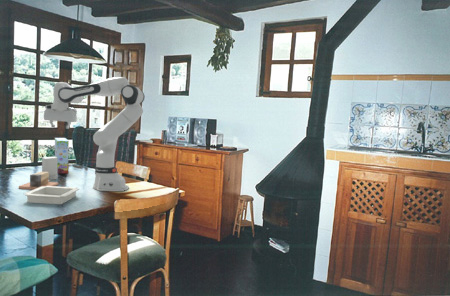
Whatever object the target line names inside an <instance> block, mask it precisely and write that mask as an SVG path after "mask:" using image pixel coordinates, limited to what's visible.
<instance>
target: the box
mask: <svg viewBox="0 0 450 296" xmlns="http://www.w3.org/2000/svg"><path fill="white" fill-rule="evenodd" d="M29 182H30V186H35V187H39V186H41V185H44V184H46V183H49V182H50V180H49V172H42V171H38V172H34V173H31V174H30V175H29Z"/></svg>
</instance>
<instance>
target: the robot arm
mask: <svg viewBox="0 0 450 296" xmlns="http://www.w3.org/2000/svg"><path fill="white" fill-rule="evenodd" d="M52 93H53V94H52V95H53V101H52V102H53V103H51V104H46V105H44V111H43V119H44V121H49V124H50V126H51V128H52V129H53V128H55V126H56V125H55V124H54V122H55V121H56V122H67V124H66V125H65V129H67V130H68V129H70V126H71V124H72V123H76V122H77V121H78V118H77V117H78V116H77V114H78V111H77V109H76V108H74V107H69V104H70V103H71V104H79V103H81V102H82V101H83V100H84V97H86V96H99V97H113V96H117V95H121V98H122V99H123V101H124V103H125V104H126V106H125V107H124V108H123V109H122V110H121V111H120V112H119V113H118V114H117V115H115V117H113V118H112V119H111V120H110V121H108V122H106V123H105V124H104V125H103V126H102V127H101V128H99V129H98V130H97V131H95V133H94V134H93V136H92V139H93V143H94V144H95V145H96V146H98V149H97V150H98V151H97V152H96V158H95V159H96V160H95V161H96V165H95V170H94V175H95V177H94V181H93V182H94V183H93V186H92V188H93V189H94V190H97V191H99V192H125V191H127V190H129V188H130V186H129V185H128V184H126V183H127V182H126V178H125V177H124V176H122V175H121V174H120V173H118V167H116V166H115V155H116V149H117V144H118V140H119V137H120V136H121V135H123V134H124V133H126V132H127V130H129V128H131V127H132V126H133V125H134V124H135V123H136V122H138V120H139V119H140V117H141V116H142V115H143V113H144V109H143V107H142V106H141V104H143V103H144V101H145V92H144V91H143V90H141V89H140V88H139V87H138V86H135V85H133V84H130V82H129V79H127V77H125V76H116V77H110V78H105V79H103V80H100V81H96V82H93V83H90V84H85V85H80V86H75V87H74V86H72V85H71V84H69V83H68V82H66V81H64V82H63V81H58V82H56V83H54V85H53V92H52ZM124 190H125V191H124Z"/></svg>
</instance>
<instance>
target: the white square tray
mask: <svg viewBox="0 0 450 296" xmlns="http://www.w3.org/2000/svg"><path fill="white" fill-rule="evenodd" d="M79 190H80V188H78V187H74V186H73V187H71V186H70V187H69V186H59V185H57V186H45V187H44V186H41V187H39V188H36V189H34V190H31V189H30V191H26V192H24V193H23V195H25V196H26V197H27V199H26V201H27V202H26V203H31V204H32V203H35V204H48V205H49V204H50V205H63V204H65V203H66V202H68V201H69V200H71V199H73V198H75V197H77V196H76V195H77V191H79Z"/></svg>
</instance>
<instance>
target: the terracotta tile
mask: <svg viewBox="0 0 450 296" xmlns="http://www.w3.org/2000/svg"><path fill="white" fill-rule="evenodd" d="M41 186H44V187H45V186H59V182H57V181H49V183H46V184H44V185H41ZM41 186H39V187H41ZM39 187H35V186H30V181H29V182H26V183H24V184H22V185H19V186H18V189H19V190H30V191H31V190H34V189H36V188H39Z"/></svg>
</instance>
